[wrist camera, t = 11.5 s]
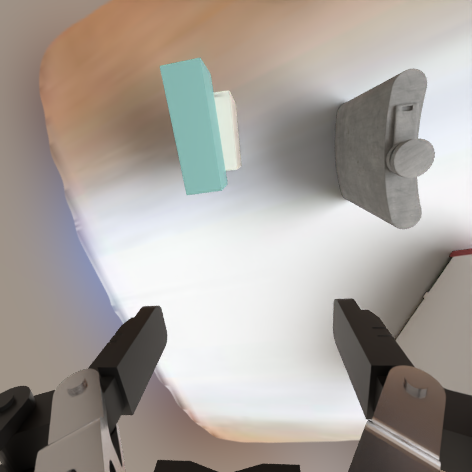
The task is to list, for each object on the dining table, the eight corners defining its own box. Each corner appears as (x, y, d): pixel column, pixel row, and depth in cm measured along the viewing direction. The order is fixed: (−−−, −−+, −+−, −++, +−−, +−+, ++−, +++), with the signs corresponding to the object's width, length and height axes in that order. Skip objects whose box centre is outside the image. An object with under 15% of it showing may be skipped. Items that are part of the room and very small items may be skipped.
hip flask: (360, 198, 44) (436, 233, 25) (336, 202, 45) (394, 239, 26) (356, 100, 39) (447, 54, 20) (330, 106, 40) (395, 67, 21)
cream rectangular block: (188, 109, 42) (170, 98, 33) (235, 103, 41) (229, 90, 32) (198, 170, 45) (183, 175, 36) (241, 165, 44) (237, 169, 35)
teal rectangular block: (177, 80, 32) (159, 65, 26) (210, 74, 31) (200, 57, 26) (197, 188, 36) (186, 195, 31) (227, 184, 36) (221, 190, 30)
